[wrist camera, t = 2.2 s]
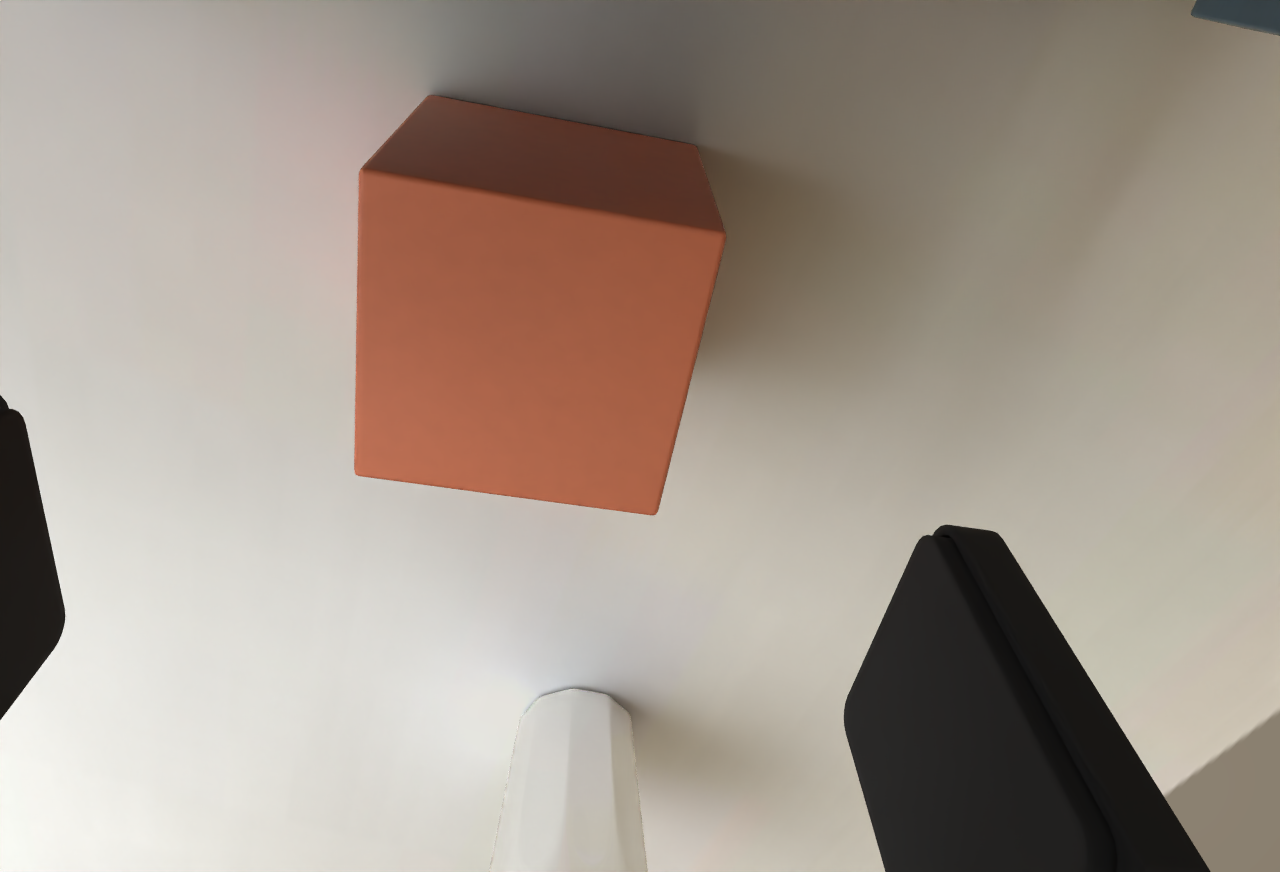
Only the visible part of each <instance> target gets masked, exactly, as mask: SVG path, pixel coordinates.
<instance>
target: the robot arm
mask: <svg viewBox="0 0 1280 872" xmlns="http://www.w3.org/2000/svg"><path fill="white" fill-rule="evenodd" d="M64 623H65V608H64V603H63V599H62V594H61V589H60V584H59V580H58V575H57V570H56V566H55V561H54V556H53V551H52V547H51V542H50V537H49V533H48V528H47V523H46V518H45V514H44V509H43V504H42V500H41V495H40V490H39V485H38V481H37V476H36V471H35V467H34V462H33V457H32V452H31V448H30V443H29V438H28V433H27V429H26V424H25V422H24V419H23V417H22V415H21V414H20V413H19V412H18V411H16V410H13V409H9V408H8V405H7V403H6V401H5V400H4V399H3V398H2V396H1V395H0V720H1V719H2V717H3V716H4V715H5V713H6V712H7V711H8V709H9V708H10V707H11V705H12V704H13V703H14V701H15V700H16V699H17V697H18V696H19V695H20V693H21V692H22V691H23V689H24V688H25V687H26V685H27V684H28V683H29V681H30V680H31V679H32V677H33V676H34V675H35V673H36V672H37V671H38V669H39V668H40V667H41V665H42V664H43V663H44V661H45V660H46V659H47V657H48V656H49V655H50V653H51V652H52V651H53V650H54V648H55V646H56V645H57V643H58V641H59V639H60V637H61V634H62V631H63V628H64ZM844 726H845V731H846V735H847V739H848V742H849V746H850V749H851V753H852V756H853V760H854V763H855V767H856V770H857V774H858V777H859V781H860V784H861V788H862V791H863V795H864V798H865V801H866V805H867V808H868V812H869V815H870V819H871V822H872V826H873V829H874V833H875V836H876V840H877V843H878V847H879V850H880V854H881V857H882V861H883V864H884V868H885V871H886V872H1210V870H1209V868H1208V867H1207V865H1206V864H1205V862H1204V861H1203V859H1202V857H1201V856H1200V854H1199V853H1198V851H1197V849H1196V848H1195V846H1194V845H1193V843H1192V841H1191V840H1190V838H1189V836H1188V835H1187V833H1186V832H1185V830H1184V828H1183V827H1182V825H1181V824H1180V822H1179V820H1178V819H1177V817H1176V816H1175V814H1174V812H1173V811H1172V809H1171V808H1170V806H1169V804H1168V803H1167V801H1166V800H1165V798H1164V796H1163V795H1162V793H1161V792H1160V790H1159V788H1158V787H1157V785H1156V784H1155V782H1154V780H1153V779H1152V777H1151V776H1150V774H1149V772H1148V771H1147V769H1146V768H1145V766H1144V764H1143V763H1142V761H1141V760H1140V758H1139V756H1138V755H1137V753H1136V752H1135V750H1134V748H1133V747H1132V745H1131V744H1130V742H1129V740H1128V739H1127V737H1126V736H1125V734H1124V732H1123V731H1122V729H1121V728H1120V726H1119V724H1118V723H1117V721H1116V720H1115V718H1114V716H1113V715H1112V713H1111V712H1110V710H1109V708H1108V707H1107V705H1106V704H1105V702H1104V700H1103V699H1102V697H1101V696H1100V694H1099V692H1098V691H1097V689H1096V688H1095V686H1094V684H1093V683H1092V681H1091V679H1090V678H1089V676H1088V675H1087V673H1086V671H1085V670H1084V668H1083V667H1082V665H1081V663H1080V662H1079V660H1078V659H1077V657H1076V655H1075V654H1074V652H1073V651H1072V649H1071V647H1070V646H1069V644H1068V643H1067V641H1066V639H1065V638H1064V636H1063V635H1062V633H1061V631H1060V630H1059V628H1058V627H1057V625H1056V623H1055V622H1054V620H1053V619H1052V617H1051V615H1050V614H1049V612H1048V611H1047V609H1046V607H1045V606H1044V604H1043V603H1042V601H1041V599H1040V598H1039V596H1038V595H1037V593H1036V591H1035V590H1034V588H1033V587H1032V585H1031V583H1030V582H1029V580H1028V579H1027V577H1026V575H1025V574H1024V572H1023V571H1022V569H1021V567H1020V566H1019V564H1018V563H1017V561H1016V559H1015V558H1014V556H1013V555H1012V553H1011V551H1010V550H1009V548H1008V547H1007V545H1006V543H1005V542H1004V540H1003V539H1002V538H1001V537H1000V535H999V534H998V533H996V532H993V531H989V530H982V529H975V528H967V527H960V526H953V525H943V526H940V527H939V528H938V529H937V530H936V531H935V532H934V534H933V536H931V535H926V536H923V537H922V538H921V539H920V540H919V541H918V543H917V544H916V546H915V549H914V551H913V553H912V555H911V557H910V560H909V562H908V564H907V566H906V568H905V571H904V573H903V575H902V577H901V579H900V582H899V584H898V586H897V588H896V590H895V593H894V595H893V597H892V599H891V602H890V604H889V606H888V608H887V610H886V613H885V615H884V617H883V619H882V621H881V624H880V626H879V628H878V630H877V632H876V635H875V637H874V639H873V641H872V644H871V646H870V648H869V650H868V652H867V655H866V657H865V659H864V661H863V663H862V666H861V668H860V670H859V672H858V674H857V677H856V679H855V681H854V683H853V686H852V688H851V690H850V692H849V694H848V697H847V700H846V703H845V709H844Z"/></svg>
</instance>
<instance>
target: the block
mask: <svg viewBox="0 0 1280 872" xmlns="http://www.w3.org/2000/svg"><path fill="white" fill-rule="evenodd" d="M725 242H726V232H725V229H724V226H723V223H722V220H721V217H720V214H719V211H718V209H717V206H716V203H715V200H714V197H713V194H712V191H711V188H710V185H709V182H708V179H707V176H706V173H705V170H704V167H703V164H702V161H701V158H700V155H699V152H698V149H697V147H696V146H695V145H692V144H687V143H682V142H677V141H671V140H666V139H661V138H655V137H650V136H645V135H640V134H634V133H629V132H624V131H619V130H613V129H608V128H603V127H598V126H592V125H587V124H582V123H577V122H571V121H566V120H561V119H555V118H550V117H545V116H540V115H534V114H529V113H524V112H519V111H513V110H508V109H503V108H498V107H492V106H487V105H482V104H476V103H471V102H466V101H461V100H455V99H450V98H445V97H440V96H434V95H429V96H427V97H426V98H425V99H424V100H423V102H422V103H421V104H420V105H419V106H418V107H417V108H416V109H415V110H414V111H413V112H412V113H411V115H410V116H409V117H408V118H407V119H406V120H405V121H404V122H403V123H402V124H401V125H400V127H399V128H398V129H397V130H396V131H395V132H394V133H393V134H392V135H391V136H390V137H389V138H388V140H387V141H386V142H385V143H384V144H383V145H382V146H381V147H380V148H379V149H378V150H377V152H376V153H375V154H374V155H373V156H372V157H371V158H370V159H369V160H368V161H367V162H366V163H365V165H364V166H363V167H362V168H361V170H360V172H359V204H358V267H357V330H356V393H355V456H354V470H355V474H356V475H358V476H363V477H371V478H378V479H386V480H393V481H400V482H408V483H415V484H423V485H430V486H438V487H445V488H452V489H460V490H467V491H475V492H482V493H490V494H497V495H504V496H512V497H519V498H527V499H534V500H542V501H549V502H556V503H564V504H571V505H579V506H586V507H594V508H601V509H609V510H616V511H623V512H631V513H638V514H646V515H656V513H657V512H658V509H659V505H660V501H661V497H662V493H663V489H664V485H665V481H666V477H667V473H668V469H669V465H670V461H671V457H672V453H673V449H674V445H675V441H676V437H677V433H678V429H679V425H680V421H681V417H682V413H683V409H684V405H685V401H686V397H687V393H688V389H689V385H690V381H691V377H692V373H693V369H694V365H695V361H696V357H697V354H698V350H699V346H700V342H701V338H702V334H703V330H704V326H705V322H706V318H707V314H708V310H709V306H710V302H711V298H712V294H713V290H714V286H715V282H716V278H717V274H718V270H719V266H720V262H721V258H722V254H723V250H724V246H725Z"/></svg>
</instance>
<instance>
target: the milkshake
mask: <svg viewBox="0 0 1280 872" xmlns="http://www.w3.org/2000/svg"><path fill="white" fill-rule="evenodd" d="M489 872H648V868H647V859H646V851H645V842H644V833H643V824H642V815H641V806H640V797H639V788H638V779H637V770H636V761H635V752H634V742H633V733H632V724H631V717H630V714H629V713H628V712H627V711H626V710H625V709H624V708H623V707H621V706H620V705H619V704H618V703H617V702H616V701H614V700H613V699H612V698H611V697H610V696H609V695H607V694H602V693H597V692H591V691H586V690H581V689H576V688H571V689H567V690H563V691H559V692H556V693H552V694H548V695H544V696H540V697H538V699H537V700H536V701H535V702H534V703H533V704H532V705H531V706H530V707H529V708H528V710H527V711H526V712H525V713H524V714H523V715H522V716H521V717H520V719H519V723H518V728H517V733H516V738H515V743H514V748H513V753H512V758H511V763H510V768H509V773H508V778H507V783H506V788H505V793H504V798H503V803H502V808H501V813H500V818H499V823H498V828H497V833H496V838H495V843H494V848H493V853H492V858H491V863H490V868H489Z"/></svg>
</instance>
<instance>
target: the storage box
mask: <svg viewBox="0 0 1280 872" xmlns="http://www.w3.org/2000/svg"><path fill="white" fill-rule="evenodd" d="M1191 15H1192V16H1193V17H1196V18H1201V19H1205V20H1210V21H1214V22H1218V23H1223V24H1227V25H1232V26H1236V27H1241V28H1245V29H1250V30H1254V31H1259V32H1264V33H1269V34H1273V35H1278V36H1280V0H1197V1H1196V3H1195V5H1194V7H1193V9H1192V11H1191Z"/></svg>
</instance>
